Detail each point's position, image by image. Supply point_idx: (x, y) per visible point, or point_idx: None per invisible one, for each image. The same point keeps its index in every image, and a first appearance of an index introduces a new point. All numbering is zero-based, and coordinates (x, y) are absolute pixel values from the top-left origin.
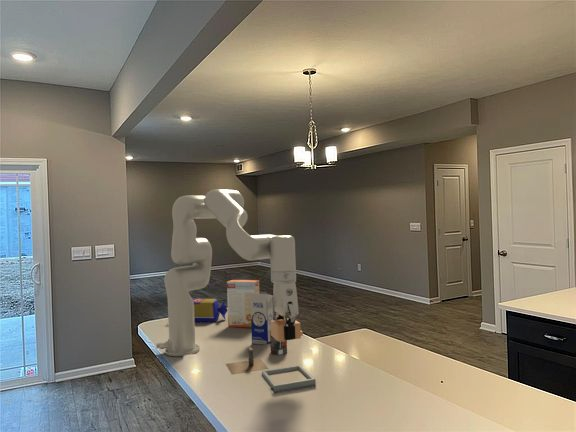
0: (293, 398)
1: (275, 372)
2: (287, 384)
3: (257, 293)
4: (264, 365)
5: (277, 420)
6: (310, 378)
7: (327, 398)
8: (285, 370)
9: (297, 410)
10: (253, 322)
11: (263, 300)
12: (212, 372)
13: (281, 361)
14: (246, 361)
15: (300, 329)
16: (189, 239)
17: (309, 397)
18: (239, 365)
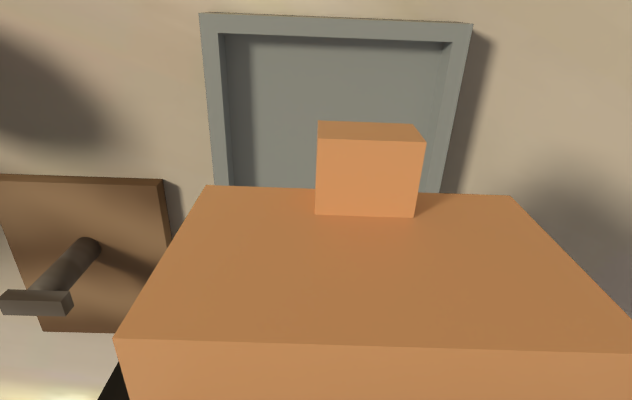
0: (512, 182)
1: (231, 176)
2: (438, 191)
3: None
4: (103, 192)
5: (621, 286)
6: (427, 40)
7: (626, 35)
8: (226, 121)
9: (615, 207)
10: None
11: None
12: (108, 367)
13: (3, 57)
14: (22, 252)
15: (576, 264)
16: None
17: (552, 114)
18: (77, 290)
